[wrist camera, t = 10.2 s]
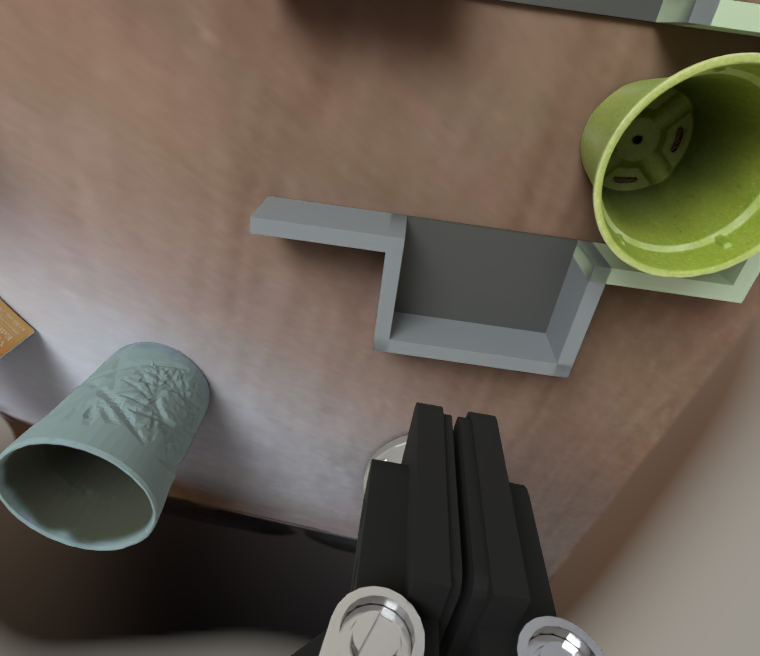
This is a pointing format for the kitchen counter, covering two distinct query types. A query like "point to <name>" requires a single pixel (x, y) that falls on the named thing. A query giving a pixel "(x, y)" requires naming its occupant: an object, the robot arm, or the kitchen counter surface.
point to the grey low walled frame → (504, 253)
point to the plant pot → (680, 168)
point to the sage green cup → (108, 450)
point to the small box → (11, 329)
